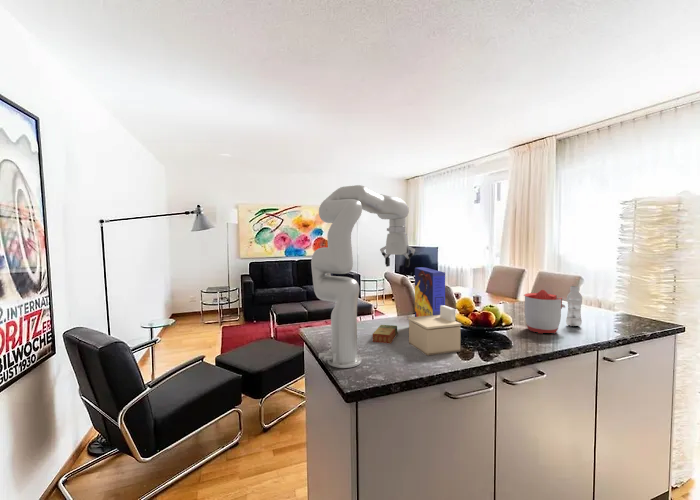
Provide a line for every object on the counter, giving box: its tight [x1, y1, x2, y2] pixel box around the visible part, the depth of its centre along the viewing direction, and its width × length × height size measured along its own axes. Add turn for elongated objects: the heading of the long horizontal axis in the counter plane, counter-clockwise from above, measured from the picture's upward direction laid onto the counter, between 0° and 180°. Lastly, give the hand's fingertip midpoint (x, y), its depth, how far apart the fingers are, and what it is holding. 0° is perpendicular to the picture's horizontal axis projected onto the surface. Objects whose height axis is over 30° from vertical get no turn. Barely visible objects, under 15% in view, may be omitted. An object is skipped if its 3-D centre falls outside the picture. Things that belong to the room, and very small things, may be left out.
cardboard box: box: [408, 320, 461, 356], centre depth 141 cm, size 15×15×10 cm
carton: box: [371, 324, 398, 345], centre depth 155 cm, size 8×16×4 cm, turn 162°
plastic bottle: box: [565, 285, 583, 327], centre depth 168 cm, size 6×7×20 cm
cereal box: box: [414, 266, 446, 317], centre depth 162 cm, size 22×6×30 cm, turn 10°
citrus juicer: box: [523, 289, 566, 334], centre depth 162 cm, size 16×17×20 cm
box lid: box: [407, 304, 463, 329], centre depth 140 cm, size 16×16×6 cm
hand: (397, 266), depth 161 cm, fingers open, 9 cm apart
